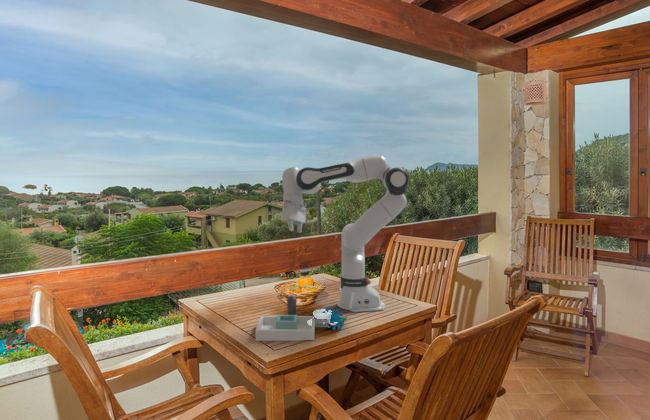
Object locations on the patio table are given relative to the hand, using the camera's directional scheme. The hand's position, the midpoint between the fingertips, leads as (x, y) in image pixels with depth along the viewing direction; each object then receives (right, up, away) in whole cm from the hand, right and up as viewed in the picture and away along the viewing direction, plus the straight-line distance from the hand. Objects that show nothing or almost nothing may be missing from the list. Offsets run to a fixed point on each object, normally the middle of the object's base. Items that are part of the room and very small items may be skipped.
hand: (295, 231), depth 190 cm
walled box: (-2, -38, -28) cm, 47 cm away
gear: (+17, -38, -21) cm, 47 cm away
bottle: (-1, -37, -11) cm, 39 cm away
